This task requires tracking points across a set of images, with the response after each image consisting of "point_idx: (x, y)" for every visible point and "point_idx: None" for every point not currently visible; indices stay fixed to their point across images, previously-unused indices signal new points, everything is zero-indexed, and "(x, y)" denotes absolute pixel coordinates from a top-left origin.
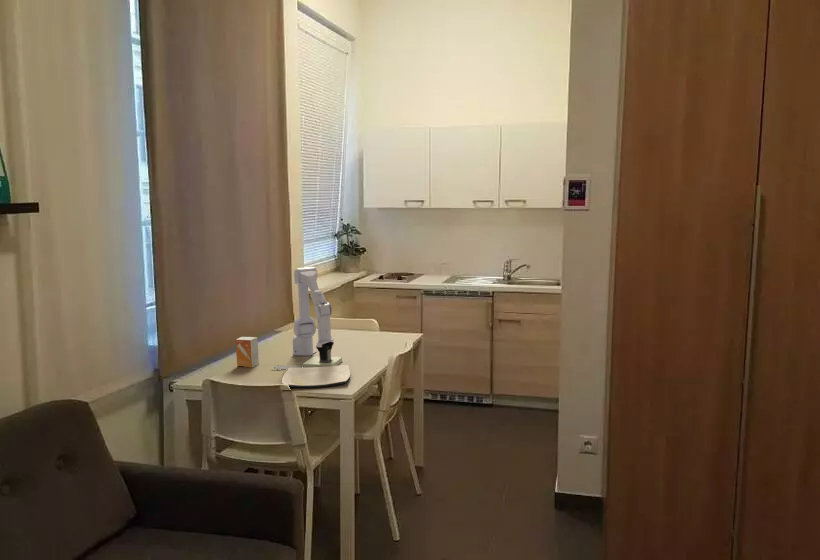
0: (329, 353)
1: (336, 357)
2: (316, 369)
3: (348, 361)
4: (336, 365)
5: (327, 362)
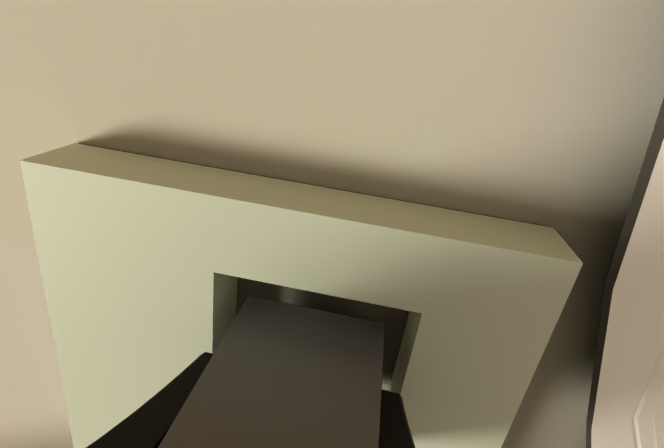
0: (259, 432)
1: (65, 250)
2: (655, 434)
3: (56, 33)
4: (335, 190)
5: (382, 345)
